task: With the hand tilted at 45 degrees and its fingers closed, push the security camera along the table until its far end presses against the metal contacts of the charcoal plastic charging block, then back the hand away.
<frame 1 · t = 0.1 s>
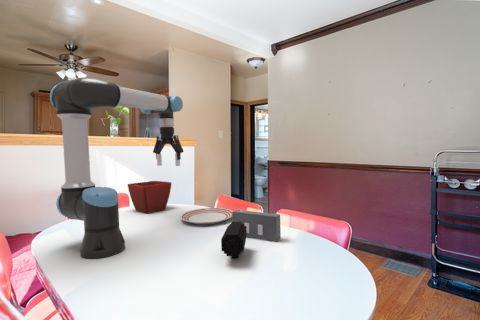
hand: (168, 165, 151), 28 cm above the table, tool pointing down, fingers open, 13 cm apart
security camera: (235, 255, 96), on the table
plant pot: (150, 210, 168), on the table
dinner plate: (207, 220, 143), on the table
charging block: (256, 236, 114), on the table
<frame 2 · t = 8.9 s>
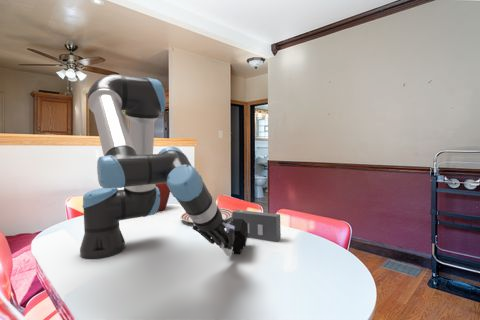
hand: (229, 251, 89), 4 cm above the table, tool tilted 45°, fingers closed
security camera: (237, 251, 99), on the table, touching gripper
everything else where it was.
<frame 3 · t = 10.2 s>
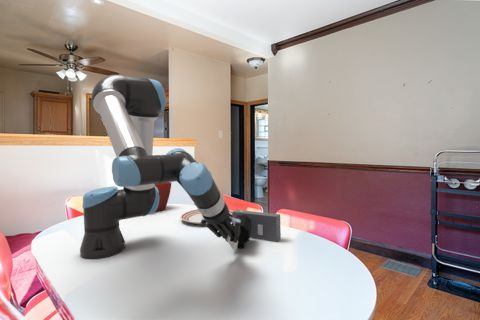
hand: (235, 245, 94), 4 cm above the table, tool tilted 45°, fingers closed
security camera: (241, 245, 105), on the table, touching charging block, gripper
everything else where it was.
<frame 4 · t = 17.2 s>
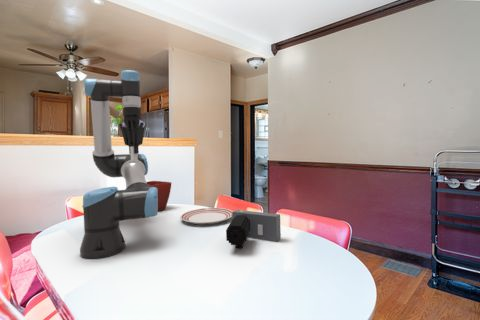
hand: (134, 161, 121), 32 cm above the table, tool pointing down, fingers closed
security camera: (239, 245, 105), on the table, touching charging block
everything else where it was.
at the end: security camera inside the target area on the table beside the charging block (1.6 cm from its centre), on the table; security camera tilted 0°; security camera moved 9.7 cm from its start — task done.
